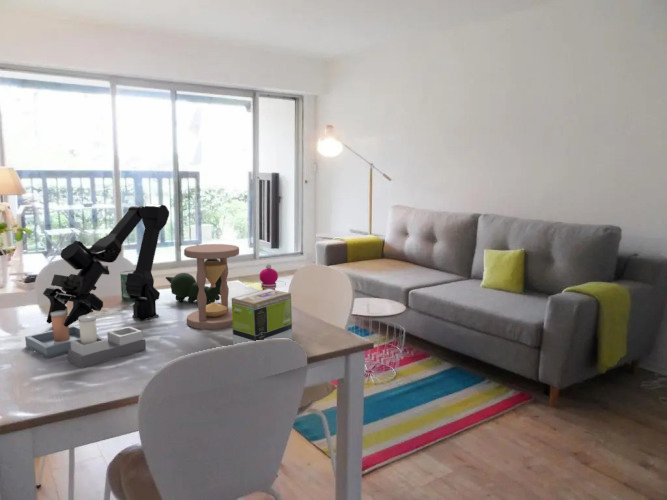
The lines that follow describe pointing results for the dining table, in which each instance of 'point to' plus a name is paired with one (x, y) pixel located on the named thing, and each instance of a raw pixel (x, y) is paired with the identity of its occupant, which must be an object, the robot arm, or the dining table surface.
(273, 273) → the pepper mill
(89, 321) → the cylinder
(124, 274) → the green container
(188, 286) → the toy figurine
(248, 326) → the tea box
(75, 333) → the parts tray
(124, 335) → the block
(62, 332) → the marked fuse
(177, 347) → the dining table surface
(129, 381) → the dining table surface
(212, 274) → the hourglass
